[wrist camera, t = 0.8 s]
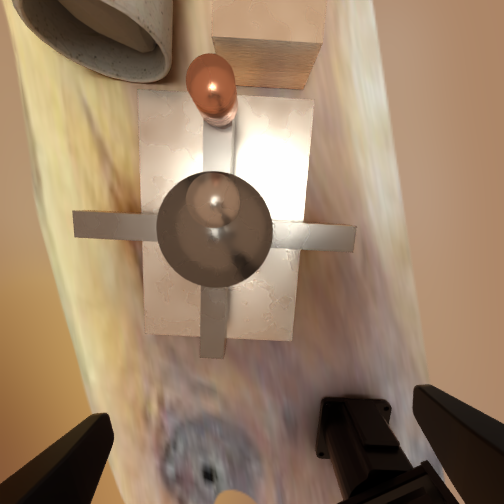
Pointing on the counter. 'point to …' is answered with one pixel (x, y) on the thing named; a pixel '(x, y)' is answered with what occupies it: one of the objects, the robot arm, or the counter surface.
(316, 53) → the stand
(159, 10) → the ceramic mug
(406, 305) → the counter surface
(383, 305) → the counter surface
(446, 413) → the robot arm
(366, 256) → the counter surface
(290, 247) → the capstan
